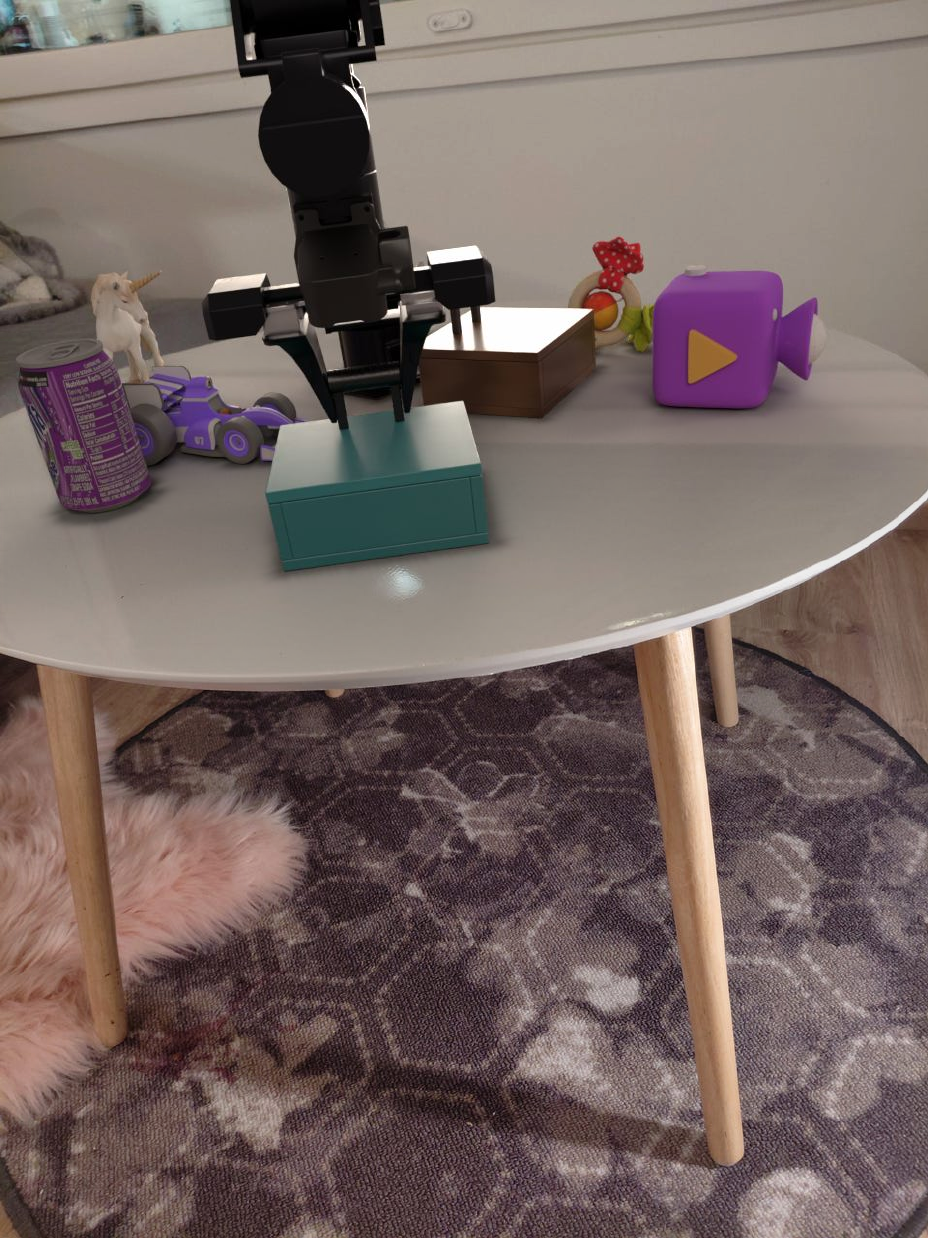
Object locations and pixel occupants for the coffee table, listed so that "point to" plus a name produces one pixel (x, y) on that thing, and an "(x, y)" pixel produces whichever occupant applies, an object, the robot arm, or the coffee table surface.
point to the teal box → (380, 522)
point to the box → (511, 379)
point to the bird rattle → (616, 266)
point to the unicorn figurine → (124, 321)
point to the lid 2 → (505, 333)
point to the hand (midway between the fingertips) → (370, 416)
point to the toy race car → (202, 418)
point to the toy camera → (728, 338)
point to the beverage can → (83, 425)
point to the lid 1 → (371, 443)
